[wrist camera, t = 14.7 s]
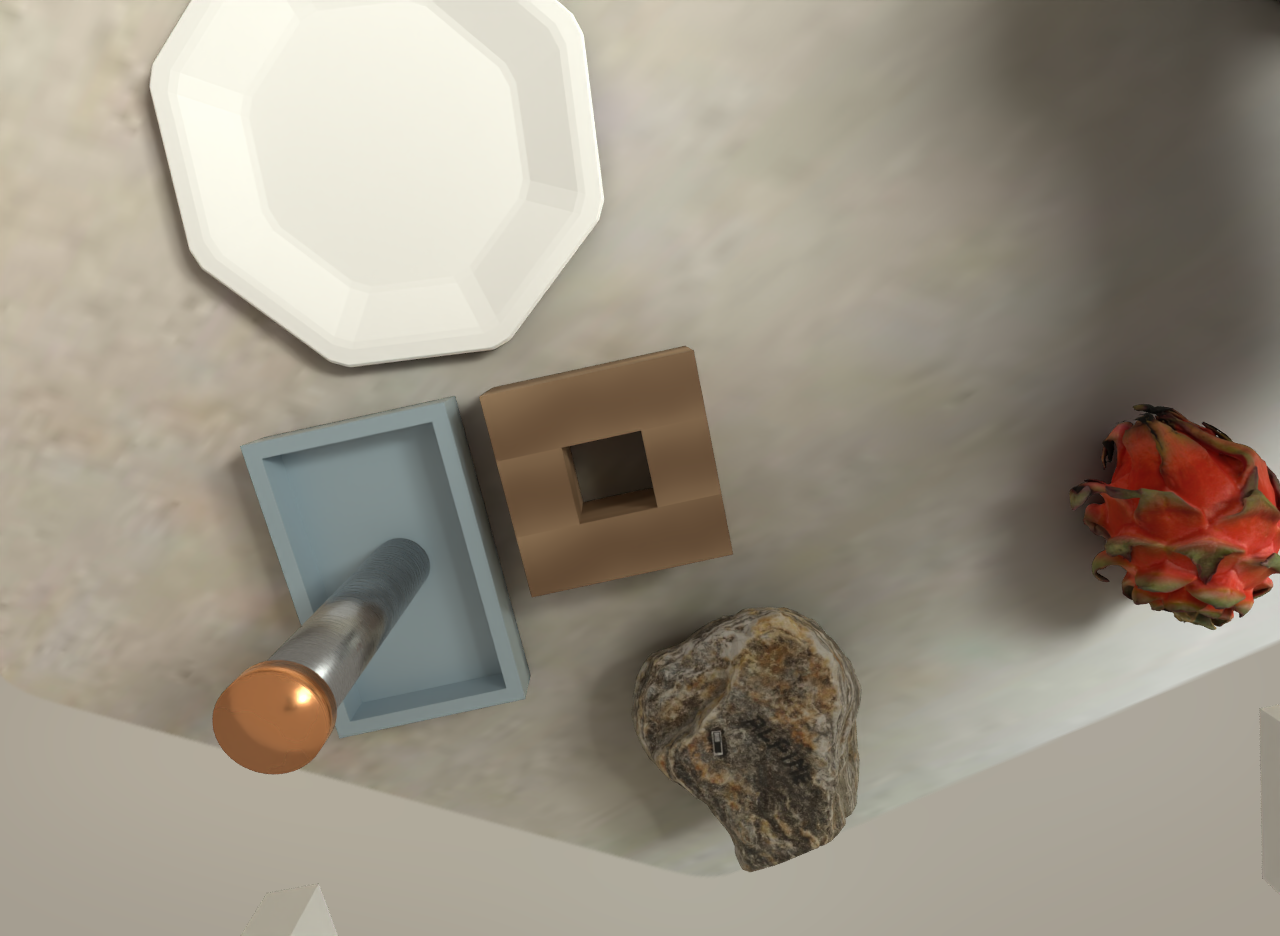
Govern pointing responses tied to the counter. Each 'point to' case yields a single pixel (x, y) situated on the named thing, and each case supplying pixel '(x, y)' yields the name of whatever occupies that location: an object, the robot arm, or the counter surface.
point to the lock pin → (317, 665)
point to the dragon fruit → (1185, 518)
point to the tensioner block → (622, 524)
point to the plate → (381, 164)
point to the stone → (757, 729)
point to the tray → (387, 509)
